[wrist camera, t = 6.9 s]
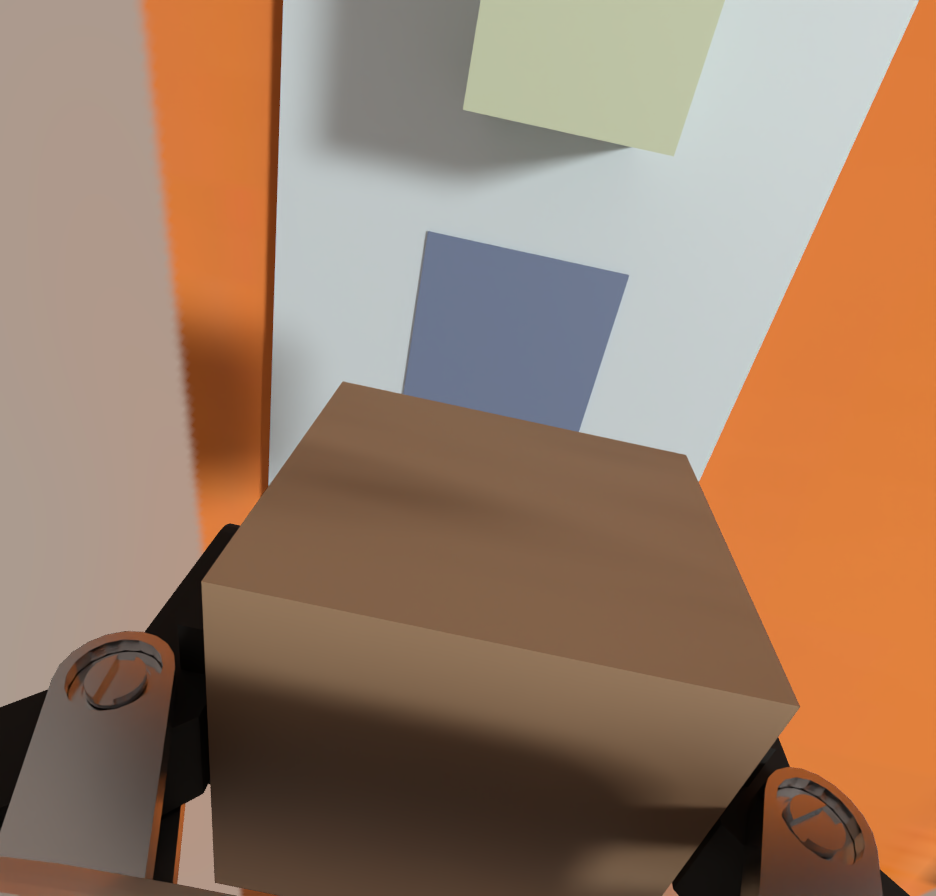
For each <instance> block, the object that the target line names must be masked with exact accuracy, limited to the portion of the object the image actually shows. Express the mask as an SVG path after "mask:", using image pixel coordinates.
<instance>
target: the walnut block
mask: <svg viewBox="0 0 936 896" xmlns="http://www.w3.org/2000/svg"><path fill="white" fill-rule="evenodd" d="M201 584H202V606H203V629H204V651H205V673H206V695H207V718H208V740H209V762H210V784H211V807H212V827H213V850H214V873H215V883H220V884H225V885H229V886H234V887H239V888H244V889H249V890H254V891H259V892H264V893H269V894H274V895H279V896H662V895H663V894H664V893H665V891H666V890H667V888H668V887H669V886H670V884H671V883H672V882H673V880H674V879H675V877H676V876H677V875H678V873H679V872H680V871H681V869H682V868H683V867H684V865H685V864H686V862H687V861H688V860H689V858H690V857H691V856H692V854H693V853H694V851H695V850H696V849H697V847H698V846H699V845H700V843H701V842H702V841H703V839H704V838H705V836H706V835H707V834H708V832H709V831H710V830H711V828H712V827H713V825H714V824H715V823H716V821H717V820H718V819H719V817H720V816H721V815H722V813H723V812H724V810H725V809H726V808H727V806H728V805H729V804H730V802H731V801H732V799H733V798H734V797H735V795H736V794H737V793H738V791H739V790H740V788H741V787H742V786H743V784H744V783H745V782H746V780H747V779H748V778H749V776H750V775H751V773H752V772H753V771H754V769H755V768H756V767H757V765H758V764H759V762H760V761H761V760H762V758H763V757H764V756H765V754H766V753H767V752H768V750H769V749H770V747H771V746H772V745H773V743H774V742H775V741H776V739H777V738H778V736H779V735H780V734H781V732H782V731H783V730H784V728H785V727H786V726H787V724H788V723H789V721H790V720H791V719H792V717H793V716H794V715H795V713H796V712H797V710H798V709H799V708H800V705H799V703H798V701H797V699H796V697H795V694H794V692H793V690H792V688H791V685H790V683H789V681H788V679H787V677H786V674H785V672H784V670H783V668H782V666H781V663H780V661H779V659H778V657H777V655H776V652H775V650H774V648H773V646H772V644H771V641H770V639H769V637H768V635H767V632H766V630H765V628H764V626H763V624H762V621H761V619H760V617H759V615H758V613H757V610H756V608H755V606H754V604H753V602H752V599H751V597H750V595H749V593H748V591H747V588H746V586H745V584H744V582H743V579H742V577H741V575H740V573H739V571H738V568H737V566H736V564H735V562H734V560H733V557H732V555H731V553H730V551H729V549H728V546H727V544H726V542H725V540H724V538H723V535H722V533H721V531H720V529H719V526H718V524H717V522H716V520H715V518H714V515H713V513H712V511H711V509H710V507H709V504H708V502H707V500H706V498H705V496H704V493H703V491H702V489H701V487H700V485H699V482H698V480H697V478H696V476H695V473H694V471H693V469H692V467H691V465H690V462H689V460H688V458H687V456H686V455H684V454H679V453H675V452H670V451H665V450H661V449H656V448H651V447H647V446H642V445H637V444H633V443H628V442H623V441H619V440H614V439H609V438H605V437H600V436H595V435H591V434H586V433H581V432H577V431H572V430H567V429H563V428H558V427H553V426H549V425H544V424H540V423H535V422H530V421H526V420H521V419H516V418H512V417H507V416H502V415H498V414H493V413H488V412H484V411H479V410H474V409H470V408H465V407H460V406H456V405H451V404H446V403H442V402H437V401H432V400H428V399H423V398H418V397H414V396H409V395H404V394H400V393H395V392H390V391H386V390H381V389H376V388H372V387H367V386H362V385H358V384H353V383H348V382H344V381H343V382H342V383H341V384H340V386H339V387H338V389H337V390H336V391H335V393H334V394H333V396H332V397H331V399H330V400H329V401H328V403H327V404H326V406H325V407H324V408H323V410H322V411H321V413H320V414H319V416H318V417H317V418H316V420H315V421H314V423H313V424H312V425H311V427H310V428H309V430H308V431H307V432H306V434H305V435H304V437H303V438H302V440H301V441H300V442H299V444H298V445H297V447H296V448H295V449H294V451H293V452H292V454H291V455H290V457H289V458H288V459H287V461H286V462H285V464H284V465H283V466H282V468H281V469H280V471H279V472H278V474H277V475H276V476H275V478H274V479H273V481H272V482H271V483H270V485H269V486H268V488H267V489H266V491H265V492H264V493H263V495H262V496H261V498H260V499H259V500H258V502H257V503H256V505H255V506H254V508H253V509H252V510H251V512H250V513H249V515H248V516H247V517H246V519H245V520H244V522H243V523H242V525H241V526H240V527H239V529H238V530H237V532H236V533H235V534H234V536H233V537H232V539H231V540H230V542H229V543H228V544H227V546H226V547H225V549H224V550H223V551H222V553H221V554H220V556H219V557H218V559H217V560H216V561H215V563H214V564H213V566H212V567H211V568H210V570H209V571H208V573H207V574H206V576H205V577H204V578H203V580H202V581H201Z"/></svg>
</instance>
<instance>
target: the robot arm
mask: <svg viewBox="0 0 936 896" xmlns="http://www.w3.org/2000/svg"><path fill="white" fill-rule="evenodd" d="M239 527H240V526H239V525H234V524H227V525H225V526H224V527H223V528H222V529H221V530H220V532H219V533H218V534H217V536H216V537H215V538H214V540H213V541H212V542H211V544H210V545H209V546H208V548H207V549H206V550H205V552H204V553H203V554H202V556H201V557H200V558H199V560H198V561H197V562H196V564H195V565H194V567H193V568H192V569H191V571H190V572H189V573H188V575H187V576H186V577H185V579H184V580H183V581H182V583H181V584H180V585H179V587H178V588H177V589H176V591H175V592H174V593H173V595H172V596H171V598H170V599H169V600H168V601H167V603H166V604H165V606H164V607H163V608H162V609H161V611H160V612H159V613H158V615H157V616H156V618H155V619H154V620H153V622H152V623H151V624H150V626H149V627H148V628H147V630H146V631H145V632H135V631H124V632H118V633H113V634H107V635H104V636H102V637H99V638H97V639H94V640H91V641H89V642H87V643H86V644H84V645H83V646H81V647H79V648H78V649H76V650H75V651H73V652H72V653H71V654H70V655H69V656H68V657H67V658H66V659H65V660H64V661H63V662H62V663H61V664H60V665H59V667H58V669H57V671H56V673H55V674H54V676H53V678H52V680H51V683H50V686H49V689H48V690H45V691H43V692H40V693H37V694H35V695H32V696H29V697H27V698H24V699H21V700H19V701H16V702H13V703H11V704H8V705H5V706H3V707H0V896H235V895H229V894H224V893H219V892H214V891H209V890H204V889H199V888H194V887H189V886H183V885H178V884H177V880H178V870H179V861H180V851H181V841H182V832H183V822H184V811H185V803H186V802H188V801H190V800H192V799H194V798H196V797H198V796H200V795H201V794H203V793H204V791H205V789H206V787H207V785H208V784H210V762H209V740H208V718H207V695H206V673H205V651H204V629H203V606H202V584H201V581H202V580H203V578H204V577H205V576H206V574H207V573H208V571H209V570H210V568H211V567H212V566H213V564H214V563H215V561H216V560H217V559H218V557H219V556H220V554H221V553H222V551H223V550H224V549H225V547H226V546H227V544H228V543H229V542H230V540H231V539H232V537H233V536H234V534H235V533H236V532H237V530H238V529H239ZM662 896H910V895H908V894H907V893H906V892H905V891H904V890H903V889H902V888H900V887H899V886H898V885H897V884H896V883H895V882H894V881H893V880H891V879H890V878H889V877H888V876H887V875H886V874H885V873H883V872H882V871H881V870H880V867H879V859H878V850H877V846H876V843H875V839H874V835H873V832H872V831H871V829H870V827H869V825H868V823H867V821H866V820H865V818H864V816H863V815H862V813H861V812H860V811H859V810H858V808H857V807H856V806H855V805H854V804H853V802H852V801H851V800H850V799H849V798H848V797H847V796H846V795H845V794H844V793H842V792H841V791H840V790H839V789H838V788H837V787H836V786H835V785H833V784H831V783H830V782H828V781H827V780H825V779H824V778H822V777H820V776H819V775H817V774H814V773H812V772H809V771H807V770H804V769H800V768H792V767H790V766H789V764H788V761H787V758H786V756H785V753H784V751H783V748H782V746H781V743H780V741H779V738H777V739H776V741H775V742H774V743H773V745H772V746H771V747H770V749H769V750H768V752H767V753H766V754H765V756H764V757H763V758H762V760H761V761H760V762H759V764H758V765H757V767H756V768H755V769H754V771H753V772H752V773H751V775H750V776H749V778H748V779H747V780H746V782H745V783H744V784H743V786H742V787H741V788H740V790H739V791H738V793H737V794H736V795H735V797H734V798H733V799H732V801H731V802H730V804H729V805H728V806H727V808H726V809H725V810H724V812H723V813H722V815H721V816H720V817H719V819H718V820H717V821H716V823H715V824H714V825H713V827H712V828H711V830H710V831H709V832H708V834H707V835H706V836H705V838H704V839H703V841H702V842H701V843H700V845H699V846H698V847H697V849H696V850H695V851H694V853H693V854H692V856H691V857H690V858H689V860H688V861H687V862H686V864H685V865H684V867H683V868H682V869H681V871H680V872H679V873H678V875H677V876H676V877H675V879H674V880H673V882H672V883H671V884H670V886H669V887H668V888H667V890H666V891H665V893H664V894H663V895H662Z"/></svg>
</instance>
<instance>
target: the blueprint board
mask: <svg viewBox="0 0 936 896" xmlns="http://www.w3.org/2000/svg"><path fill="white" fill-rule="evenodd" d="M480 1H481V0H283V24H282V56H281V89H280V121H279V154H278V187H277V219H276V252H275V284H274V317H273V350H272V382H271V415H270V447H269V480H268V486H269V485H270V483H271V482H272V481H273V479H274V478H275V476H276V475H277V474H278V472H279V471H280V469H281V468H282V466H283V465H284V464H285V462H286V461H287V459H288V458H289V457H290V455H291V454H292V452H293V451H294V449H295V448H296V447H297V445H298V444H299V442H300V441H301V440H302V438H303V437H304V435H305V434H306V432H307V431H308V430H309V428H310V427H311V425H312V424H313V423H314V421H315V420H316V418H317V417H318V416H319V414H320V413H321V411H322V410H323V408H324V407H325V406H326V404H327V403H328V401H329V400H330V399H331V397H332V396H333V394H334V393H335V391H336V390H337V389H338V387H339V386H340V384H341V383H342V382H343V381H344V382H348V383H353V384H358V385H362V386H367V387H372V388H376V389H381V390H386V391H390V392H395V393H400V394H404V395H409V396H414V397H418V398H423V399H428V400H432V401H437V402H442V403H446V404H451V405H456V406H460V407H465V408H470V409H474V410H479V411H484V412H488V413H493V414H498V415H502V416H507V417H512V418H516V419H521V420H526V421H530V422H535V423H540V424H544V425H549V426H553V427H558V428H563V429H567V430H572V431H577V432H581V433H586V434H591V435H595V436H600V437H605V438H609V439H614V440H619V441H623V442H628V443H633V444H637V445H642V446H647V447H651V448H656V449H661V450H665V451H670V452H675V453H679V454H684V455H686V456H687V458H688V460H689V462H690V465H691V467H692V469H693V471H694V473H695V476H696V478H697V480H698V482H699V480H700V478H701V476H702V473H703V471H704V469H705V467H706V465H707V463H708V460H709V458H710V456H711V454H712V452H713V449H714V447H715V445H716V443H717V441H718V438H719V436H720V434H721V432H722V430H723V428H724V425H725V423H726V421H727V419H728V417H729V414H730V412H731V410H732V408H733V406H734V404H735V401H736V399H737V397H738V395H739V393H740V390H741V388H742V386H743V384H744V382H745V379H746V377H747V375H748V373H749V371H750V369H751V366H752V364H753V362H754V360H755V358H756V355H757V353H758V351H759V349H760V347H761V344H762V342H763V340H764V338H765V336H766V334H767V331H768V329H769V327H770V325H771V323H772V320H773V318H774V316H775V314H776V312H777V310H778V307H779V305H780V303H781V301H782V299H783V296H784V294H785V292H786V290H787V288H788V285H789V283H790V281H791V279H792V277H793V275H794V272H795V270H796V268H797V266H798V264H799V261H800V259H801V257H802V255H803V253H804V250H805V248H806V246H807V244H808V242H809V240H810V237H811V235H812V233H813V231H814V229H815V226H816V224H817V222H818V220H819V218H820V216H821V213H822V211H823V209H824V207H825V205H826V202H827V200H828V198H829V196H830V194H831V191H832V189H833V187H834V185H835V183H836V181H837V178H838V176H839V174H840V172H841V170H842V167H843V165H844V163H845V161H846V159H847V156H848V154H849V152H850V150H851V148H852V146H853V143H854V141H855V139H856V137H857V135H858V132H859V130H860V128H861V126H862V124H863V121H864V119H865V117H866V115H867V113H868V111H869V108H870V106H871V104H872V102H873V100H874V97H875V95H876V93H877V91H878V89H879V87H880V84H881V82H882V80H883V78H884V76H885V73H886V71H887V69H888V67H889V65H890V62H891V60H892V58H893V56H894V54H895V52H896V49H897V47H898V45H899V43H900V41H901V38H902V36H903V34H904V32H905V30H906V27H907V25H908V23H909V21H910V19H911V17H912V14H913V12H914V10H915V8H916V6H917V3H918V1H919V0H725V1H724V5H723V8H722V11H721V14H720V17H719V20H718V23H717V26H716V29H715V32H714V35H713V38H712V41H711V44H710V47H709V50H708V53H707V57H706V60H705V63H704V66H703V69H702V72H701V75H700V78H699V81H698V84H697V87H696V90H695V93H694V96H693V99H692V102H691V105H690V108H689V112H688V115H687V118H686V121H685V124H684V127H683V130H682V133H681V136H680V139H679V142H678V145H677V148H676V151H675V154H674V156H670V155H665V154H661V153H656V152H652V151H647V150H642V149H638V148H633V147H629V146H624V145H620V144H615V143H611V142H606V141H602V140H597V139H593V138H588V137H584V136H579V135H575V134H570V133H566V132H561V131H557V130H552V129H548V128H543V127H538V126H534V125H529V124H525V123H520V122H516V121H511V120H507V119H502V118H498V117H493V116H489V115H484V114H480V113H475V112H471V111H466V110H463V105H464V99H465V93H466V87H467V81H468V75H469V68H470V62H471V56H472V50H473V44H474V38H475V32H476V26H477V19H478V13H479V7H480Z"/></svg>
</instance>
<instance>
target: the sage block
mask: <svg viewBox="0 0 936 896" xmlns="http://www.w3.org/2000/svg"><path fill="white" fill-rule="evenodd" d="M724 1H725V0H481V1H480V7H479V13H478V19H477V26H476V32H475V38H474V44H473V50H472V56H471V62H470V68H469V75H468V81H467V87H466V93H465V99H464V105H463V110H466V111H471V112H475V113H480V114H484V115H489V116H493V117H498V118H502V119H507V120H511V121H516V122H520V123H525V124H529V125H534V126H538V127H543V128H548V129H552V130H557V131H561V132H566V133H570V134H575V135H579V136H584V137H588V138H593V139H597V140H602V141H606V142H611V143H615V144H620V145H624V146H629V147H633V148H638V149H642V150H647V151H652V152H656V153H661V154H665V155H670V156H674V154H675V151H676V148H677V145H678V142H679V139H680V136H681V133H682V130H683V127H684V124H685V121H686V118H687V115H688V112H689V108H690V105H691V102H692V99H693V96H694V93H695V90H696V87H697V84H698V81H699V78H700V75H701V72H702V69H703V66H704V63H705V60H706V57H707V53H708V50H709V47H710V44H711V41H712V38H713V35H714V32H715V29H716V26H717V23H718V20H719V17H720V14H721V11H722V8H723V5H724Z"/></svg>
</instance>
